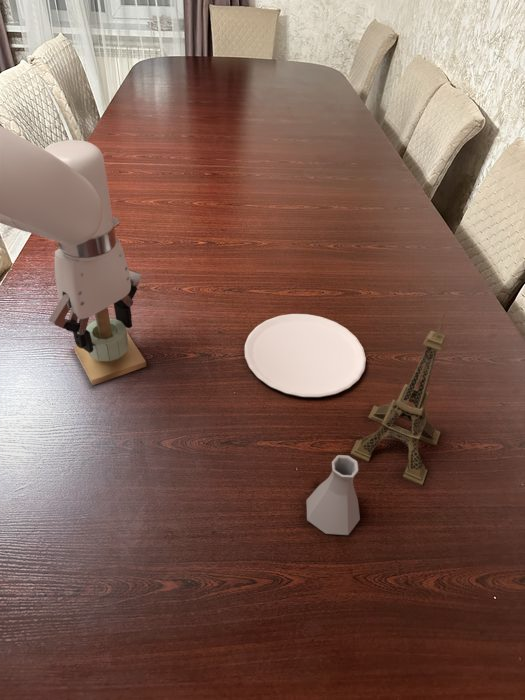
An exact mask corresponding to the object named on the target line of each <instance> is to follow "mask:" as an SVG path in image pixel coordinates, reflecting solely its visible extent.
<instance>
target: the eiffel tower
mask: <svg viewBox="0 0 525 700" xmlns="http://www.w3.org/2000/svg"><path fill="white" fill-rule="evenodd" d="M446 313H447V310H445V311H444V313H443V317H442V319H441V321H440V323H439V326H438V328H437V330H436V331H434V330H430V331H429V333H428V334H427V335H426V337H425V339H424V342H423V343H422V345H423V346H426V348H425V350H424V352H423V354H422V356H421V358H420V360H419V361H418V364H417V366H416V368H415V370H414V372H413V375H412V376H411V379H410V381H409V383H408V384H407V383H405V384H404V386H402V389H401V392H400V394H399V396H398V398H397V399H396V400H395V399H394V398H393V399H392V401H391V402H390V404H382V405H379V406H377V405H375V404H374V405H373V407H372V408H371V410H370V413H369V414H368V416H367V419H369V420H370V421H371V420H372V421H374V422H376V423H379V424H380V426H379V428H378V429H377V430H376V431H375V432H373V433H371V434H369V435H367V436H365V437H362V438H361V439H356V440H355V443H354V445H353V447H352V449H351V451H350V453H349V454H350V455H351V456H353V457H355V458H358V459H360V460H363V461H364V462H367V463H369V462H370V459H371V457H372V455H373V453H374V450H375V448H376V447H377V446H378V444H380V442H381V441H382V440H383V439H384V438H390V439H396V440H398V441H400V442H401V443H403V444H404V445H405V446H406V447H408V451H407V452H408V453H407V465H406V468H405V470H404V472H403V475H402V478H403V479H405V480H408V481H409V482H412V483H414V484H416V485H419V486H421V487H422V486H423V484H424V482H425V479H426V476H427V473H428V469H427V468H426V467H425V464H424V461H423V458H422V456H421V454H420V451H419V440H420V441H422V442H425V443H427V444H428V445H429V444H430V445H432V446H434V447H436V446H437V444H438V441H439V438H440V436H441V431H439V430H436V427H435V426H434V425H433V423H431V421H430V420H429V418H428V417H429V415H430V413H429V412H426V408H425V407H426V405H427V402H428V400H429V397H430V392H429V391H427V389H428V385H429V383H430V379H431V374H432V371H433V367H434V363H435V359H436V356H437V352H438V351H440V352H441V351H442V349H443V347H444V344H445V342H446V340H445V337H446V335H445V334H442V333H440V331H441V328H442V325H443V322H444V319H445V316H446ZM419 380H420V381H419ZM418 382H419V384H418ZM417 384H418V388H416V387H417ZM409 402H410V403H412V404H413V406H410V405H408V403H409ZM398 419H404V420H405V421H409V423H410V430H409V429H405V428H403V427H401V426H399V425H396V424H394V423H395V422H396V421H397V420H398Z"/></svg>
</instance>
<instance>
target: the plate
mask: <svg viewBox="0 0 525 700" xmlns="http://www.w3.org/2000/svg"><path fill="white" fill-rule="evenodd" d="M244 359H245V361H246V363H247V366H248V369H249V370H250V371H251V372H252V373H253V374H254V376H255V377H256V378H257V379H258V380H259V381H261V382H262V383H263V384H265V385H266V386H268V387H269V388H271V389H273V390H275V391H279V392H281V393H283V394H285V395H291V396H295V397H300V398H324V397H329V396H335V395H337V394H340V393H342V392H344V391H346V390H349V389H350V388H352V387H353V385H355V384H356V383H357V382H358V381H359V380H360V378H361V377H362V375H363V374H364V372H365V369H366V361H367V356H366V353H365V349H364V347H363V346H362V343H360V340H359V339H358V338H357V336H356V335H354V333H352V332H351V331H350V330H349V329H348V328H346V327H344V326H343V325H341V324H339V323H338V322H337V321H334V320H332V319H328V318H325V317H322V316H319V315H314V314H308V313H290V314H282V315H277V316H275V317H272V318H269V319H266V320H264V321H263V322H261V323H260V324H258V325H257V326H255V327H254V329H252V330H251V332H250V333H249V334H248V336H247V338H246V340H245V344H244Z"/></svg>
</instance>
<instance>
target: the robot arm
mask: <svg viewBox="0 0 525 700" xmlns="http://www.w3.org/2000/svg"><path fill="white" fill-rule="evenodd" d="M0 224H2V225H4V226H8V227H11V228H14V229H17V230H19V231H23V232H26V233H30V234H32V235H35V236H38V237H42V238H44V239H47V240H50V241H53V242H56V243H58V246H59V248H58V249H56V250H55V251H54V261H53V263H54V264H53V265H54V266H53V267H54V277H55V278H54V279H55V285H56V291H57V297H58V303H57V305H56V307H55V308H54V310H53V311H52V313H51V315H50V317H49V318H48V321H49V322H50V323H51V324H53V325H54V326H56V327H58V328H61V329H64V330H66V331H68V332H72V335H73V338H74V342H75V346H76V345H77V346H78V347H79V348H81V349H82V348H83V349H85V350H86V351H87V352H89V353H91V352H92V351H93V350H94V349H93V344H92V340H91V335H90V332H89V331H88V330H86V328H87V326H88V325H89V320H90V317H92V316H95V314H96V313H98V312H100V311H101V310H103V309H105V308H107V307H108V308H109V307H110V306H112V305H113V308H114V313H115V319H117V320H119V321H121V322H123V324H124V325H125V327H126V329H131V328H132V327H133V320H132V317H133V316H132V309H131V308H132V306H133V305H134V300H133V299H134V297H135V295H136V293H137V291H138V286H139V284H140V282H141V280H142V278H143V275H142V274H141V273H139V272H138V271H136V270H133V269H129V264H128V261H127V257H126V254H125V251H124V249H123V246H122V243H121V241H120V239H119V238H118V236H116V227H117V226H119V225H120V220H119V218H118V217H117V216H114V215H113V212H112V203H111V196H110V191H109V184H108V177H107V169H106V163H105V159H104V154H103V153H102V151H101V149H100V148H99V147H98V146H97V145H95V144H93V143H92V142H89V141H86V140H79V139H66V140H59V141H55V142H53V143H51V144H48V145H46V147H44V148H42V147H41V146H39V145H37V144H35V143H33V142H31V141H29V140H27V139H26V138H24V137H22V136H20V135H19V134H16V133H15V132H13V131H11V130H9V129H8V128H5V127H4V126H2V125H0ZM68 313H69V316H68V318H66V316H67V315H68ZM78 320H79V321H78Z"/></svg>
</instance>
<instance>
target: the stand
mask: <svg viewBox="0 0 525 700" xmlns="http://www.w3.org/2000/svg"><path fill="white" fill-rule="evenodd" d="M94 317H95V321H96V322H97V327H98V332H99V337H100V339H108V338H111V337H113V335H112V330H111V324H110V319H109V318H110V314H109V307H107V308H105V309H103V310H101V311H100V312H98V313H96V314H94ZM127 337H128V343H129V346H128V350H127V352H126V353H125V354H124V355H123V356H122V357H120V358H118V359H115V360H112V361H98V360H96V359H93V358H91V357H90V355H89V353H88V352H87V351H86V350H85V349H83V348H82V349H81V348H79V347H78V346H77V345H76V344H75V345H74V346H73V349H74V352H75V354H76V357H77V359H78V360H79V362H80V364H81V367H82V368H83V370H84V372H85V374H86V376H87V377H88V379H89V381H90V383H91V385H92V386H95V385H99V384H101V383H104V382H107V381H110V380H112V379H114V378H118V377H120V376H124V375H127V374H129V373H132V372H134V371H138V370H140V369H143V368H146V367H147V361H146V359H145V357H144V356H143V354H142V353H141V352H140V350H139V349H138V347H137V345H136V344H135V342H134V341H133V339H132V338H131V336H130V335H129V333H128V332H127Z"/></svg>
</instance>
